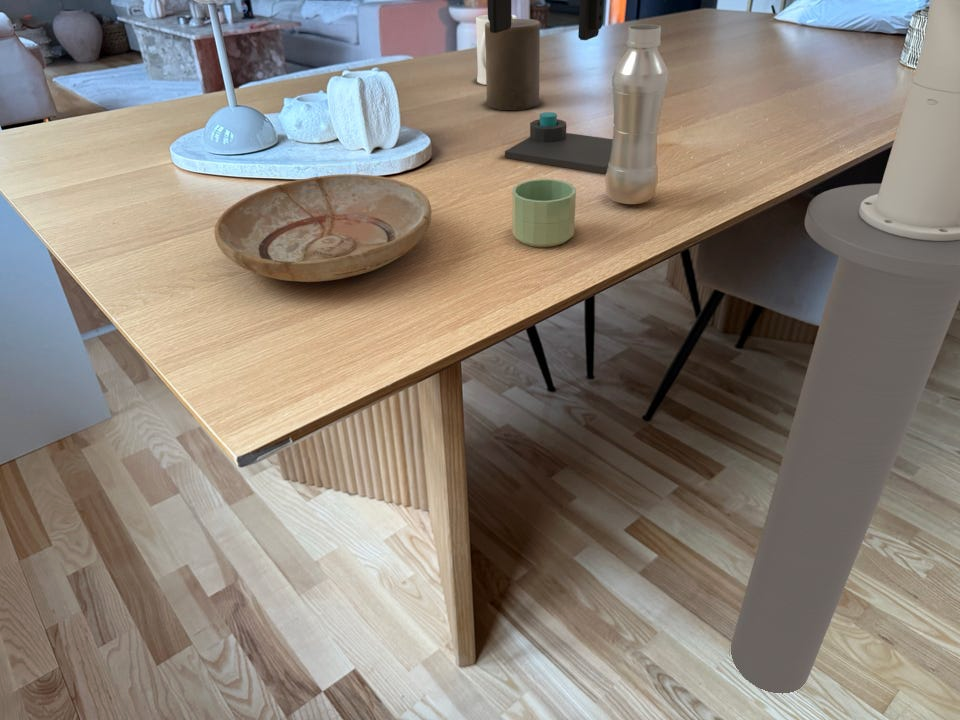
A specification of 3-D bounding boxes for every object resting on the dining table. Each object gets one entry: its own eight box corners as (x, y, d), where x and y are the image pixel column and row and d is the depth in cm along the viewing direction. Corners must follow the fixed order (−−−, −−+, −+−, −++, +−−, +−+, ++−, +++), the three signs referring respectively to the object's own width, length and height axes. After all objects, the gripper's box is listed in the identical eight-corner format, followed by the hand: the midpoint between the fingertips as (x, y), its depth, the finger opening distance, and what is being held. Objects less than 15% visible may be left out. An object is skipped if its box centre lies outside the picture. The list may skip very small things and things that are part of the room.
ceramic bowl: (177, 275, 75) (164, 232, 73) (322, 200, 92) (316, 163, 89) (343, 326, 65) (335, 278, 62) (473, 232, 82) (471, 191, 79)
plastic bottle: (603, 210, 86) (615, 33, 75) (603, 190, 91) (614, 22, 80) (657, 211, 85) (677, 32, 74) (653, 190, 90) (672, 21, 79)
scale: (637, 149, 105) (639, 129, 103) (604, 174, 96) (606, 152, 95) (541, 135, 112) (541, 116, 110) (503, 157, 104) (503, 137, 102)
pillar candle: (516, 114, 123) (515, 20, 114) (475, 105, 129) (472, 16, 120) (550, 102, 129) (552, 12, 120) (510, 94, 134) (509, 8, 126)
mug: (499, 91, 137) (497, 24, 130) (461, 87, 141) (458, 22, 134) (525, 77, 146) (525, 14, 139) (489, 74, 149) (487, 12, 142)
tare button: (559, 124, 108) (559, 113, 107) (551, 129, 106) (552, 117, 105) (544, 122, 109) (544, 111, 108) (536, 127, 107) (536, 115, 106)
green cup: (584, 230, 81) (586, 184, 78) (556, 253, 76) (558, 206, 73) (531, 219, 84) (531, 175, 81) (501, 241, 79) (500, 195, 76)
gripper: (438, -183, 60) (448, 34, 70) (628, -199, 52) (610, 48, 62) (484, -179, 65) (487, 22, 75) (663, -193, 57) (641, 34, 67)
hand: (543, 34), depth 68 cm, fingers open, 9 cm apart
